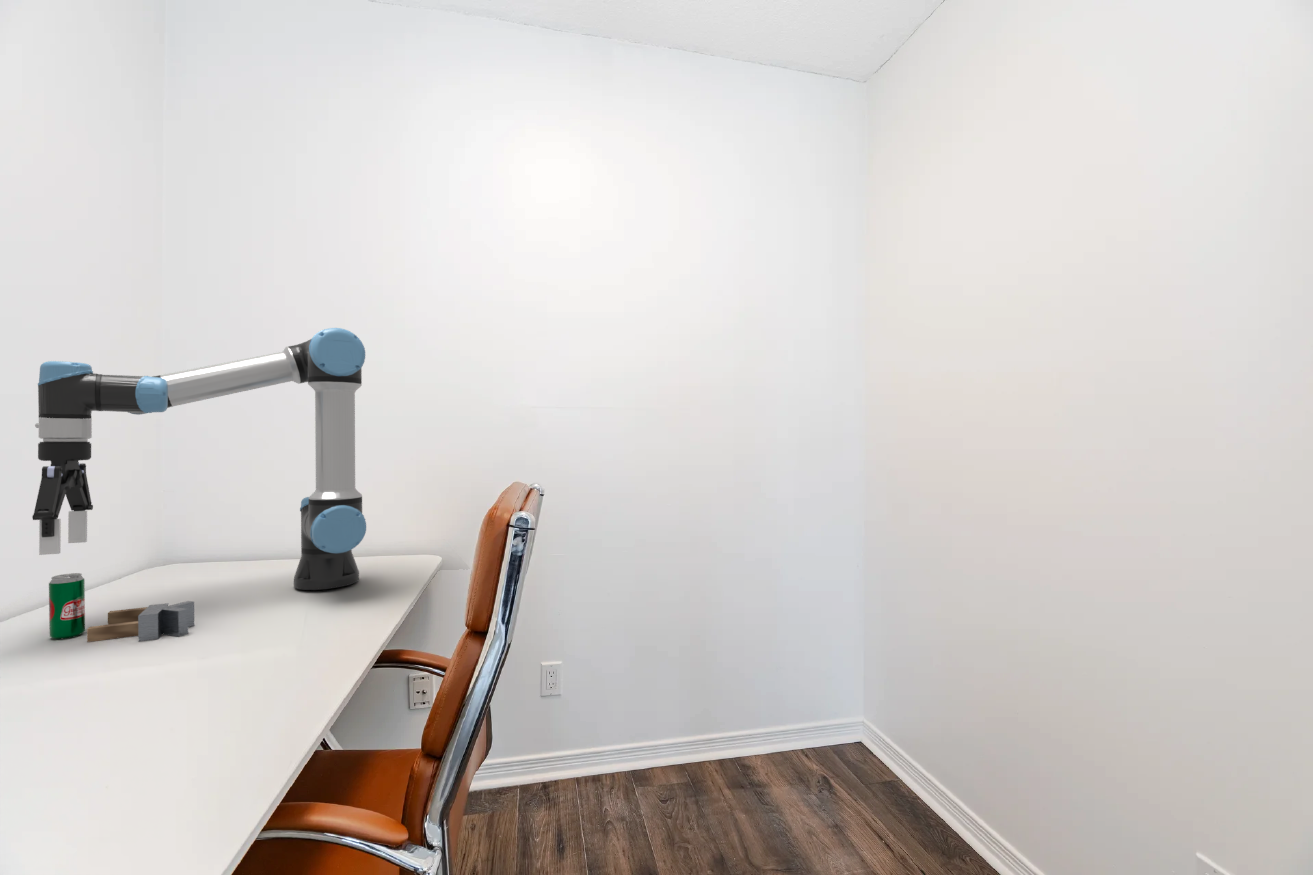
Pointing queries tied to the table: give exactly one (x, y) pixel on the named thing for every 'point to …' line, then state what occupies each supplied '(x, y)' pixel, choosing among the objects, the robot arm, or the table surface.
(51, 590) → the soda can
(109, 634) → the channel
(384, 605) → the table surface
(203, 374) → the robot arm
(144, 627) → the v block
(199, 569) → the table surface
